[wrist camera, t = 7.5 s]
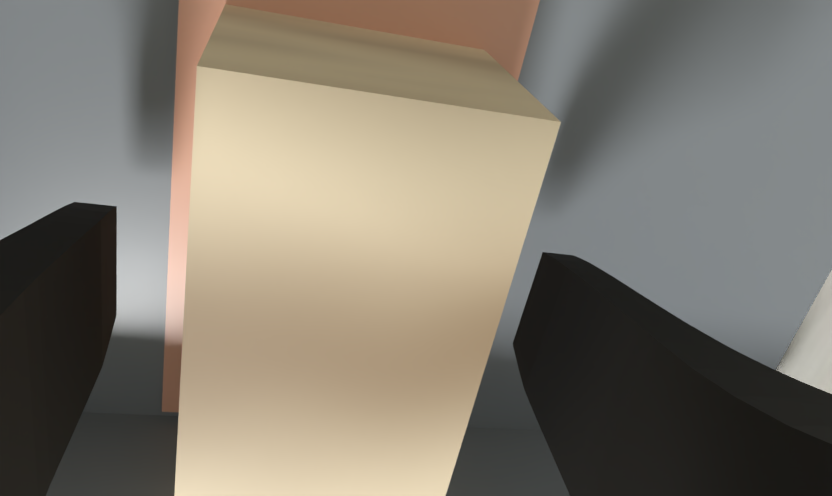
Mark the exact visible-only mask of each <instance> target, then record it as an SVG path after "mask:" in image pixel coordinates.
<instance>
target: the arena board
mask: <svg viewBox="0 0 832 496" xmlns="http://www.w3.org/2000/svg"><path fill="white" fill-rule="evenodd" d="M225 4H228V5H234V6H239V7H245V8H251V9H256V10H262V11H268V12H273V13H279V14H285V15H290V16H296V17H302V18H307V19H313V20H319V21H324V22H330V23H336V24H341V25H347V26H353V27H358V28H364V29H370V30H375V31H381V32H387V33H392V34H398V35H404V36H409V37H415V38H421V39H426V40H432V41H438V42H443V43H449V44H455V45H460V46H466V47H472V48H477V49H483V50H485V51H486V52H487V53H488V54H489V55H490V56H492V57H493V58H494V59H495V60H496V61H497V62H498V63H499V64H500V65H501V66H502V67H503V68H504V69H505V70H506V71H507V72H509V73H510V74H511V75H512V76H513V77H514V78H515V79H516V80H517V81H518V82H519V83H520V84H521V85H522V86H523V87H524V88H525V89H527V90H528V91H529V92H530V93H531V94H532V95H533V96H534V97H535V98H536V99H537V100H538V101H539V102H540V103H541V104H542V105H544V106H545V107H546V108H547V109H548V110H549V111H550V112H551V113H552V114H553V115H554V116H555V117H556V118H557V119H558V120H559V121H560V122H561V124H560V127H559V130H558V134H557V137H556V140H555V143H554V147H553V150H552V153H551V156H550V160H549V163H548V166H547V169H546V173H545V176H544V179H543V182H542V185H541V189H540V192H539V195H538V198H537V202H536V205H535V208H534V211H533V215H532V218H531V221H530V224H529V228H528V231H527V234H526V237H525V240H524V244H523V247H522V250H521V253H520V257H519V260H518V263H517V266H516V270H515V273H514V276H513V279H512V283H511V286H510V289H509V292H508V295H507V299H506V302H505V305H504V308H503V312H502V315H501V318H500V321H499V325H498V328H497V331H496V334H495V338H494V341H493V344H492V347H491V350H490V354H489V357H488V360H487V363H486V367H485V370H484V373H483V376H482V380H481V383H480V386H479V389H478V393H477V396H476V399H475V402H474V405H473V409H472V412H471V415H470V418H469V422H468V425H467V428H466V431H465V435H464V438H463V441H462V444H461V448H460V451H459V454H458V457H457V460H456V464H455V467H454V470H453V473H452V477H451V480H450V483H449V486H448V490H447V493H446V496H570V495H569V492H568V490H567V488H566V485H565V483H564V481H563V479H562V476H561V474H560V472H559V469H558V467H557V465H556V463H555V460H554V458H553V456H552V453H551V451H550V449H549V447H548V444H547V442H546V440H545V437H544V435H543V433H542V431H541V428H540V426H539V424H538V421H537V419H536V417H535V414H534V412H533V409H532V407H531V405H530V402H529V400H528V397H527V395H526V392H525V390H524V387H523V383H522V379H521V376H520V372H519V369H518V364H517V360H516V356H515V352H514V348H513V341H514V338H515V335H516V332H517V329H518V326H519V322H520V319H521V316H522V313H523V310H524V307H525V304H526V301H527V298H528V295H529V292H530V289H531V286H532V283H533V280H534V277H535V274H536V271H537V268H538V265H539V262H540V259H541V256H542V253H543V252H547V253H557V254H566V255H574V256H576V257H579V258H581V259H583V260H585V261H587V262H589V263H591V264H593V265H594V266H596V267H598V268H599V269H601V270H603V271H605V272H606V273H608V274H609V275H611V276H613V277H614V278H616V279H617V280H619V281H621V282H622V283H624V284H625V285H627V286H629V287H630V288H632V289H633V290H635V291H636V292H638V293H639V294H641V295H643V296H644V297H646V298H647V299H649V300H650V301H652V302H654V303H655V304H657V305H658V306H660V307H662V308H663V309H665V310H666V311H668V312H670V313H671V314H673V315H674V316H676V317H678V318H679V319H681V320H683V321H684V322H686V323H688V324H689V325H691V326H693V327H694V328H696V329H698V330H700V331H701V332H703V333H705V334H707V335H708V336H710V337H712V338H714V339H715V340H717V341H719V342H721V343H722V344H724V345H726V346H728V347H730V348H732V349H734V350H736V351H737V352H739V353H741V354H743V355H745V356H747V357H749V358H752V359H754V360H756V361H758V362H760V363H762V364H764V365H766V366H768V367H770V368H772V369H774V370H776V368H777V366H778V365H779V363H780V361H781V359H782V357H783V356H784V354H785V352H786V350H787V348H788V347H789V345H790V343H791V341H792V339H793V338H794V336H795V334H796V332H797V331H798V329H799V327H800V325H801V323H802V322H803V320H804V318H805V316H806V314H807V313H808V311H809V309H810V307H811V305H812V304H813V302H814V300H815V298H816V297H817V295H818V293H819V291H820V289H821V288H822V286H823V284H824V282H825V280H826V279H827V277H828V275H829V273H830V271H831V270H832V0H0V240H1V239H3V238H5V237H7V236H9V235H11V234H13V233H15V232H16V231H18V230H20V229H22V228H24V227H26V226H28V225H30V224H32V223H33V222H35V221H37V220H39V219H41V218H43V217H44V216H46V215H48V214H50V213H52V212H54V211H56V210H58V209H60V208H62V207H64V206H66V205H68V204H71V203H73V202H80V203H90V204H99V205H108V206H117V315H116V319H115V323H114V327H113V330H112V334H111V338H110V342H109V345H108V349H107V352H106V356H105V359H104V363H103V366H102V369H101V371H100V373H99V376H98V378H97V380H96V383H95V385H94V387H93V389H92V392H91V394H90V396H89V399H88V401H87V403H86V405H85V408H84V410H83V412H82V415H81V417H80V419H79V421H78V423H77V426H76V428H75V430H74V432H73V435H72V437H71V439H70V441H69V444H68V446H67V448H66V450H65V453H64V455H63V457H62V459H61V462H60V464H59V466H58V468H57V471H56V473H55V475H54V477H53V480H52V482H51V484H50V487H49V489H48V492H47V494H46V496H174V493H175V474H176V454H177V435H178V416H179V397H180V378H181V359H182V340H183V320H184V301H185V282H186V263H187V244H188V225H189V206H190V186H191V167H192V148H193V129H194V110H195V91H196V72H197V64H198V62H199V60H200V58H201V56H202V54H203V51H204V49H205V47H206V45H207V43H208V41H209V38H210V36H211V34H212V32H213V30H214V28H215V25H216V23H217V21H218V19H219V17H220V15H221V12H222V10H223V8H224V6H225Z"/></svg>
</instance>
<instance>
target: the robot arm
mask: <svg viewBox="0 0 832 496" xmlns="http://www.w3.org/2000/svg"><path fill="white" fill-rule="evenodd" d="M116 315H117V206H108V205H99V204H90V203H80V202H73V203H71V204H68V205H66V206H64V207H62V208H60V209H58V210H56V211H54V212H52V213H50V214H48V215H46V216H44V217H43V218H41V219H39V220H37V221H35V222H33V223H32V224H30V225H28V226H26V227H24V228H22V229H20V230H18V231H16V232H15V233H13V234H11V235H9V236H7V237H5V238H3V239H1V240H0V496H46V494H47V492H48V489H49V487H50V484H51V482H52V480H53V477H54V475H55V473H56V471H57V468H58V466H59V464H60V462H61V459H62V457H63V455H64V453H65V450H66V448H67V446H68V444H69V441H70V439H71V437H72V435H73V432H74V430H75V428H76V426H77V423H78V421H79V419H80V417H81V415H82V412H83V410H84V408H85V405H86V403H87V401H88V399H89V396H90V394H91V392H92V389H93V387H94V385H95V383H96V380H97V378H98V376H99V373H100V371H101V369H102V366H103V363H104V359H105V356H106V352H107V349H108V345H109V342H110V338H111V334H112V330H113V327H114V323H115V319H116ZM513 348H514V352H515V356H516V360H517V364H518V369H519V372H520V376H521V379H522V383H523V387H524V390H525V392H526V395H527V397H528V400H529V402H530V405H531V407H532V409H533V412H534V414H535V417H536V419H537V421H538V424H539V426H540V428H541V431H542V433H543V435H544V437H545V440H546V442H547V444H548V447H549V449H550V451H551V453H552V456H553V458H554V460H555V463H556V465H557V467H558V469H559V472H560V474H561V476H562V479H563V481H564V483H565V485H566V488H567V490H568V492H569V495H570V496H832V394H830V393H827V392H825V391H822V390H820V389H817V388H815V387H812V386H810V385H808V384H805V383H803V382H800V381H798V380H796V379H794V378H791V377H789V376H787V375H785V374H782V373H780V372H778V371H776V370H774V369H772V368H770V367H768V366H766V365H764V364H762V363H760V362H758V361H756V360H754V359H752V358H749V357H747V356H745V355H743V354H741V353H739V352H737V351H736V350H734V349H732V348H730V347H728V346H726V345H724V344H722V343H721V342H719V341H717V340H715V339H714V338H712V337H710V336H708V335H707V334H705V333H703V332H701V331H700V330H698V329H696V328H694V327H693V326H691V325H689V324H688V323H686V322H684V321H683V320H681V319H679V318H678V317H676V316H674V315H673V314H671V313H670V312H668V311H666V310H665V309H663V308H662V307H660V306H658V305H657V304H655V303H654V302H652V301H650V300H649V299H647V298H646V297H644V296H643V295H641V294H639V293H638V292H636V291H635V290H633V289H632V288H630V287H629V286H627V285H625V284H624V283H622V282H621V281H619V280H617V279H616V278H614V277H613V276H611V275H609V274H608V273H606V272H605V271H603V270H601V269H599V268H598V267H596V266H594V265H593V264H591V263H589V262H587V261H585V260H583V259H581V258H579V257H576V256H574V255H566V254H557V253H547V252H543V253H542V256H541V259H540V262H539V265H538V268H537V271H536V274H535V277H534V280H533V283H532V286H531V289H530V292H529V295H528V298H527V301H526V304H525V307H524V310H523V313H522V316H521V319H520V322H519V326H518V329H517V332H516V335H515V338H514V341H513Z"/></svg>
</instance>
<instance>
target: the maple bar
mask: <svg viewBox="0 0 832 496" xmlns="http://www.w3.org/2000/svg"><path fill="white" fill-rule="evenodd" d="M560 124H561V122H560V121H559V120H558V119H557V118H556V117H555V116H554V115H553V114H552V113H551V112H550V111H549V110H548V109H547V108H546V107H545V106H544V105H542V104H541V103H540V102H539V101H538V100H537V99H536V98H535V97H534V96H533V95H532V94H531V93H530V92H529V91H528V90H527V89H525V88H524V87H523V86H522V85H521V84H520V83H519V82H518V81H517V80H516V79H515V78H514V77H513V76H512V75H511V74H510V73H509V72H507V71H506V70H505V69H504V68H503V67H502V66H501V65H500V64H499V63H498V62H497V61H496V60H495V59H494V58H493V57H492V56H490V55H489V54H488V53H487V52H486V51H485V50H483V49H477V48H472V47H466V46H460V45H455V44H449V43H443V42H438V41H432V40H426V39H421V38H415V37H409V36H404V35H398V34H392V33H387V32H381V31H375V30H370V29H364V28H358V27H353V26H347V25H341V24H336V23H330V22H324V21H319V20H313V19H307V18H302V17H296V16H290V15H285V14H279V13H273V12H268V11H262V10H256V9H251V8H245V7H239V6H234V5H228V4H225V6H224V8H223V10H222V12H221V15H220V17H219V19H218V21H217V23H216V25H215V28H214V30H213V32H212V34H211V36H210V38H209V41H208V43H207V45H206V47H205V49H204V51H203V54H202V56H201V58H200V60H199V62H198V64H197V72H196V91H195V110H194V129H193V148H192V167H191V186H190V206H189V225H188V244H187V263H186V282H185V301H184V320H183V340H182V359H181V378H180V397H179V416H178V435H177V454H176V474H175V493H174V496H446V493H447V490H448V486H449V483H450V480H451V477H452V473H453V470H454V467H455V464H456V460H457V457H458V454H459V451H460V448H461V444H462V441H463V438H464V435H465V431H466V428H467V425H468V422H469V418H470V415H471V412H472V409H473V405H474V402H475V399H476V396H477V393H478V389H479V386H480V383H481V380H482V376H483V373H484V370H485V367H486V363H487V360H488V357H489V354H490V350H491V347H492V344H493V341H494V338H495V334H496V331H497V328H498V325H499V321H500V318H501V315H502V312H503V308H504V305H505V302H506V299H507V295H508V292H509V289H510V286H511V283H512V279H513V276H514V273H515V270H516V266H517V263H518V260H519V257H520V253H521V250H522V247H523V244H524V240H525V237H526V234H527V231H528V228H529V224H530V221H531V218H532V215H533V211H534V208H535V205H536V202H537V198H538V195H539V192H540V189H541V185H542V182H543V179H544V176H545V173H546V169H547V166H548V163H549V160H550V156H551V153H552V150H553V147H554V143H555V140H556V137H557V134H558V130H559V127H560Z"/></svg>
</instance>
